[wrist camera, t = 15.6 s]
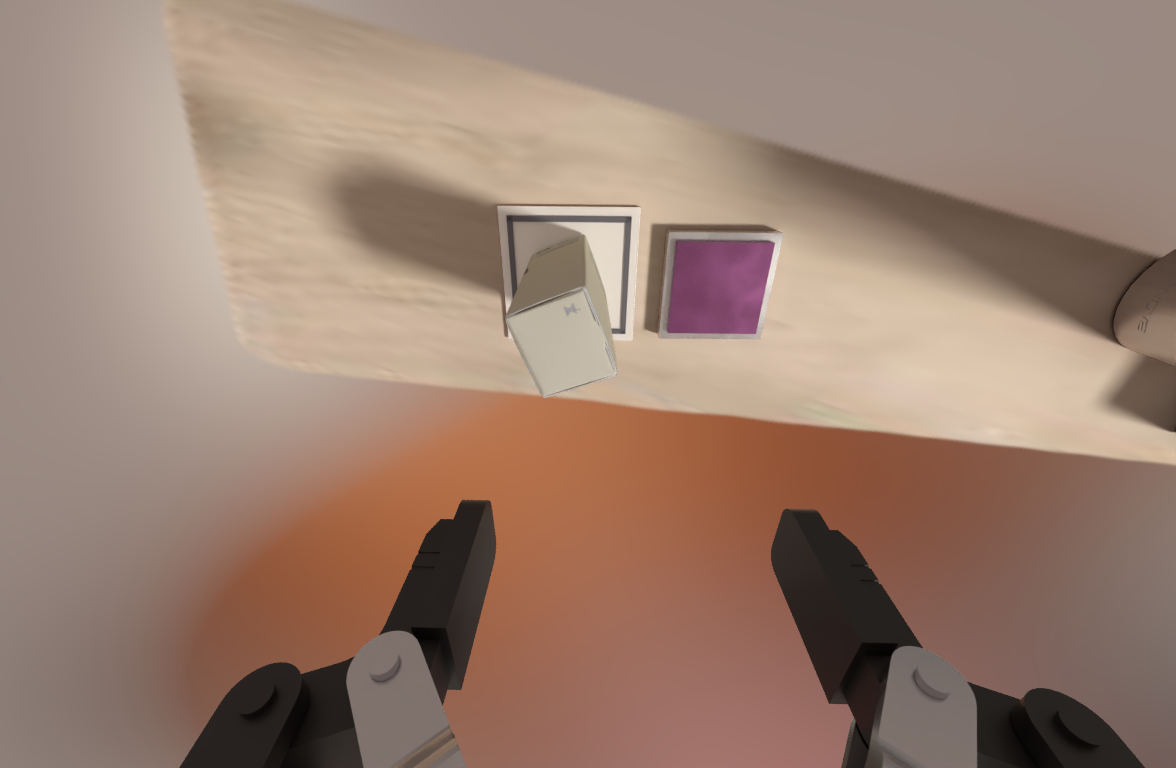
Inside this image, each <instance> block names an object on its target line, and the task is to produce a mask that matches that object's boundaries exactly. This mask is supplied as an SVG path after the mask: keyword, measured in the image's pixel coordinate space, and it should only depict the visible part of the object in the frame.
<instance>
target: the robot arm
mask: <svg viewBox="0 0 1176 768" xmlns="http://www.w3.org/2000/svg"><path fill="white" fill-rule="evenodd" d="M1114 332H1115V336H1116V338H1117V340H1118V341H1119V342H1120V343H1121V344H1122V345H1123V346H1125V347H1127V348H1128V349H1130V350H1133V351H1136V352H1139V353H1141V354H1144V355H1147V356H1149V357H1152V358H1155V359H1158V360H1160V361H1163V362H1166V363H1169V364H1171V365H1174V366H1176V250H1174V251H1172V252H1170V253H1169V254H1167V255H1166V256H1164V257H1163V258H1161V259H1159V260H1158V261H1157V262H1156V263H1154V264H1153V265H1152V266H1151V267H1149V268H1148V269H1147V270H1146V271H1145V272H1144V273H1143V274H1142V275H1141V276H1140V277H1139V278H1138V279H1137V280H1136V281H1135V282H1134V283H1133V284H1132V285H1131V287H1130V288H1129V289H1128V291H1127V292H1126V293H1125V295H1124V296H1123V298H1122V300H1121V302H1120V304H1119V306H1118V308H1117V311H1116V314H1115V318H1114ZM495 553H496V536H495V529H494V521H493V513H492V506H491V502H490V501H488V500H487V501H486V500H462V501H461V503H460V504H459V507H458V509H457V512H456V515H455V517H454V519H453V520H452V519H441V520H440V521H439V522H438V523H437V524H436V525H435V526H434V527H433V528H432V529H431V530H430V531H429V532H428V533H427V534H426V536H425V538H424V540H423V543H422V545H421V547H420V549H419V551H418V555H417V556H416V558H415V560H414V562H413V565H412V569H411V570H410V571H409V573H408V576H407V578H406V580H405V582H404V584H403V587H402V589H401V591H400V593H399V595H398V598H397V600H396V602H395V604H394V606H393V609H392V611H391V613H390V615H389V617H388V620H387V622H386V624H385V626H384V628H383V630H382V631H381V633H380V634H379V636H377V637H375V638H374V639H372V640H371V641H369V642H368V643H367V644H365V645H364V646H363V647H362V648H361V649H360V650H359V652H358V653H357V654H356V656H354V657H352V658H350V659H348V660H346V661H343V662H341V663H337V664H334V665H331V666H327V667H324V668H320V669H317V670H314V671H310V672H307V673H304V674H300V671H299V670H298V669H297V668H296V667H295V666H294V665H292V664H289V663H282V662H281V663H273V664H269V665H266V666H264V667H262V668H259V669H257V670H255V671H253V672H252V673H250V674H249V675H247V676H246V677H244V678H243V679H242V680H241V681H239V682H238V683H237V684H236V685H235V686H234V687H233V688H232V689H231V690H230V692H228V694H227V695H226V696H225V698H224V699H223V700H222V702H221V703H220V705H219V706H218V708H217V709H216V711H215V712H214V714H213V716H212V717H211V719H210V720H209V722H208V724H207V725H206V727H205V728H204V730H203V731H202V733H201V735H200V736H199V738H198V739H197V741H196V742H195V744H194V746H193V747H192V749H191V750H190V752H189V754H188V755H187V757H186V758H185V760H184V761H183V763H182V765H181V766H180V768H467V767H466V765H465V762H464V759H463V756H462V754H461V751H460V748H459V746H458V743H457V741H456V738H455V736H454V734H453V733H452V730H451V728H450V725H449V722H448V720H447V717H446V714H445V712H444V709H443V703H444V699H445V696H446V692H447V689H449V690H461V688H462V684H463V681H464V677H465V673H466V669H467V665H468V661H469V657H470V654H471V649H472V646H473V642H474V638H475V634H476V630H477V626H478V623H479V619H480V615H481V610H482V607H483V603H484V599H485V595H486V591H487V587H488V583H489V580H490V576H491V572H492V568H493V564H494V560H495ZM771 560H772V566H773V569H774V572H775V575H776V577H777V579H778V582H779V584H780V587H781V589H782V591H783V594H784V596H785V599H786V601H787V603H788V606H789V608H790V611H791V613H792V615H793V617H794V620H795V623H796V625H797V627H798V630H799V632H800V634H801V637H802V639H803V642H804V644H805V647H806V649H807V651H808V654H809V656H810V658H811V661H812V663H813V666H814V668H815V671H816V673H817V675H818V678H819V680H820V683H821V685H822V687H823V690H824V692H825V695H826V697H827V699H828V702H829V704H848V705H849V707H850V709H851V712H852V714H853V716H854V718H853V720H852V722H851V725H850V729H849V734H848V739H847V743H846V748H845V753H844V757H843V762H842V766H841V768H1145V767H1144V766H1143V765H1142V764H1141V762H1140V761H1139V760H1138V759H1137V758H1136V756H1135V755H1134V754H1133V753H1132V752H1131V750H1130V749H1129V748H1128V747H1127V746H1126V745H1125V743H1124V742H1123V741H1122V740H1121V739H1120V737H1119V736H1118V735H1117V734H1116V733H1115V732H1114V731H1113V729H1112V728H1111V727H1110V726H1109V725H1108V724H1107V723H1106V722H1104V720H1102V719H1101V718H1100V717H1099V716H1098V715H1097V714H1095V713H1094V712H1093V711H1091V710H1090V709H1089V708H1087V707H1086V706H1084V705H1083V704H1081V703H1079V702H1078V701H1076V700H1074V699H1073V698H1070V697H1069V696H1067V695H1064V694H1062V693H1060V692H1057V691H1053V690H1050V689H1045V688H1036V689H1032V690H1030V691H1029V692H1027V694H1026V695H1025V696H1024V697H1023V698H1022V699H1021V700H1020V699H1017V698H1014V697H1011V696H1008V695H1004V694H1002V693H999V692H996V691H993V690H989V689H987V688H984V687H981V686H978V685H975V684H972V683H969V682H967V681H966V680H965V679H964V678H963V676H962V675H961V674H960V673H959V672H958V671H957V670H956V669H955V668H954V667H953V666H952V665H951V664H949V663H948V662H947V661H945V660H944V659H943V658H941V657H939V656H938V655H936V654H934V653H932V652H930V651H928V650H926V649H923V647H922V646H921V644H920V643H919V642H918V640H917V639H916V637H915V636H914V634H913V633H912V631H911V629H910V628H909V626H908V625H907V623H906V622H905V620H904V619H903V617H902V616H901V614H900V613H899V611H898V609H897V608H896V606H895V605H894V603H893V602H892V600H891V599H890V597H889V596H888V594H887V593H886V591H885V590H884V588H883V586H882V585H881V584H879V583H878V579H877V577H876V576H875V574H874V573H873V571H872V570H871V569H869V567H868V563H867V562H866V560H865V559H864V557H863V556H862V554H861V553H860V551H859V550H858V548H857V547H856V546H855V545H854V544H853V543H852V542H851V541H850V540H849V539H847V538H846V537H845V536H844V535H843V534H842V533H840V532H839V531H838V530H829V528H828V526H827V525H826V523H825V522H824V520H823V518H822V517H821V515H820V514H819V513H818V511H816V510H813V509H785V510H784V511H783V513H782V516H781V519H780V522H779V525H778V529H777V532H776V535H775V538H774V541H773V545H772V549H771Z"/></svg>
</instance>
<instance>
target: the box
mask: <svg viewBox="0 0 1176 768" xmlns="http://www.w3.org/2000/svg"><path fill="white" fill-rule="evenodd" d="M505 321H506V324H507V326H508V329H509V331H510V333H511V335H512V337H513V340H514V342H515V344H516V346H517V348H518V350H519V352H520V354H521V357H522V359H523V361H524V363H525V365H526V367H527V369H528V371H529V373H530V375H531V376H532V378H533V380H534V382H535V384H536V386H537V388H538V389H539V391H540V393H541V395H542V396H543V397H549V396H552V395H555V394H559V393H562V392H566V391H570V390H573V389H576V388H580V387H583V386H586V385H589V384H593V383H596V382H599V381H602V380H605V379H608V378H611V377H614V376H616V375H617V363H616V355H615V349H614V342H613V336H612V330H611V323H610V317H609V311H608V305H607V298H606V293H605V289H604V286H603V283H602V280H601V277H600V274H599V271H598V268H597V265H596V262H595V259H594V257H593V254H592V251H591V248H590V246H589V243H588V240H587V238H586V236H585V235H584V234H582V235H580V236H577V237H574V238H572V239H569V240H566V241H564V242H561V243H559V244H556V245H554V246H551V247H549V248H546V249H544V250H542V251H539V252H537V253H535V254H533V255H532V257H531V259H530V261H529V263H528V266H527V268H526V270H525V273H524V275H523V277H522V279H521V282H520V284H519V286H518V289H517V291H516V293H515V295H514V298H513V300H512V302H511V305H510V307H509V309H508V312H507V314H506V316H505Z"/></svg>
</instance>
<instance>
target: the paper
mask: <svg viewBox="0 0 1176 768" xmlns="http://www.w3.org/2000/svg"><path fill="white" fill-rule="evenodd" d="M497 210H498V222H499V234H500V245H501V257H502V268H503V280H504V291H505V303H506V314H507V312H508V309H509V307H510V305H511V302H512V300H513V298H514V295H515V293H516V291H517V289H518V286H519V284H520V282H521V279H522V277H523V275H524V273H525V270H526V268H527V266H528V263H529V261H530V259H531V257H532V255H533V254H535V253H537V252H539V251H542V250H544V249H546V248H549V247H551V246H554V245H556V244H559V243H561V242H564V241H566V240H569V239H572V238H574V237H577V236H580V235H582V234H584V235H585V236H586V238H587V240H588V243H589V246H590V248H591V251H592V254H593V257H594V259H595V262H596V265H597V268H598V271H599V274H600V277H601V280H602V283H603V286H604V289H605V293H606V298H607V305H608V311H609V317H610V323H611V330H612V336H613V340H632V338H633V322H634V306H635V290H636V274H637V259H638V243H639V227H640V211H641V207H597V206H497ZM508 338H509V339H513V337H512V335H511V333H510V331H509V329H508Z"/></svg>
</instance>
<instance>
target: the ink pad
mask: <svg viewBox="0 0 1176 768" xmlns="http://www.w3.org/2000/svg"><path fill="white" fill-rule="evenodd" d="M782 237H783V233H782V232H780V231H750V230H667V232H666V242H665V253H664V264H663V275H662V286H661V296H660V307H659V318H658V329H657V335H658V337H659V338H675V339H760V338H761V334H762V329H763V324H764V320H765V315H766V311H767V306H768V301H769V297H770V292H771V288H772V283H773V278H774V274H775V269H776V265H777V260H778V256H779V251H780V246H781V242H782Z"/></svg>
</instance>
